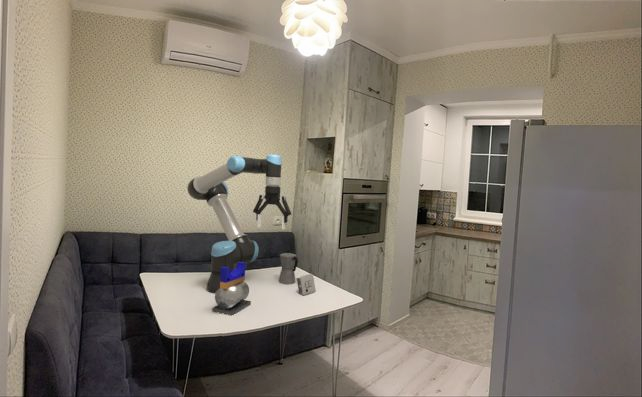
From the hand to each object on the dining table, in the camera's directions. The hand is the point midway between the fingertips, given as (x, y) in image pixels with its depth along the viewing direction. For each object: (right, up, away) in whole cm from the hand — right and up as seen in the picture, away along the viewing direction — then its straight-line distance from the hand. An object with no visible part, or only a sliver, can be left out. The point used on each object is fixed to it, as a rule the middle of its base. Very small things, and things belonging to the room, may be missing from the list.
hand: (271, 228), depth 168 cm
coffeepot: (+7, -32, +16) cm, 36 cm away
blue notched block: (-13, -19, -25) cm, 35 cm away
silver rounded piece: (-13, -32, -24) cm, 42 cm away
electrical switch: (+17, -33, 0) cm, 37 cm away
